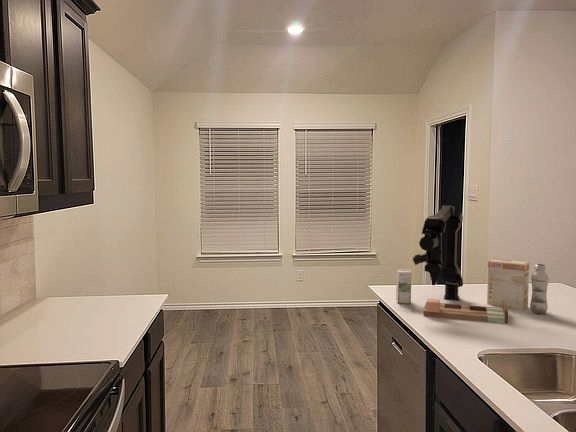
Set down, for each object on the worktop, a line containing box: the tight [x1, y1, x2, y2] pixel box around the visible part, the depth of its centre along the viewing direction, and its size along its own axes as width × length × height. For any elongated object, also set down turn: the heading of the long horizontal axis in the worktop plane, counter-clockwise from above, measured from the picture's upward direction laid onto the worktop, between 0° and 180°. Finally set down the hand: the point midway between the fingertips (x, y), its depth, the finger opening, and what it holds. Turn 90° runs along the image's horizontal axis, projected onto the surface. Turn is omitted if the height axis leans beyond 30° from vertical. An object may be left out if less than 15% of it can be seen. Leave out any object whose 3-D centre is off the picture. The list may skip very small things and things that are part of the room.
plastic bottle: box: [529, 263, 550, 314], centre depth 192 cm, size 6×7×20 cm
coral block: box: [425, 298, 441, 313], centre depth 191 cm, size 5×5×4 cm
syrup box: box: [395, 269, 412, 305], centre depth 210 cm, size 6×6×14 cm
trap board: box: [422, 301, 509, 324], centre depth 191 cm, size 14×31×5 cm, turn 70°
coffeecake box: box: [486, 258, 530, 311], centre depth 203 cm, size 15×7×20 cm, turn 47°
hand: (433, 285), depth 194 cm, fingers closed
